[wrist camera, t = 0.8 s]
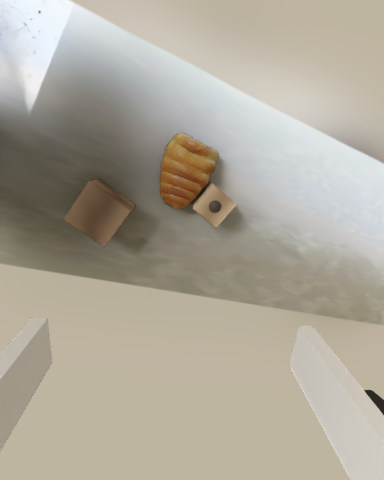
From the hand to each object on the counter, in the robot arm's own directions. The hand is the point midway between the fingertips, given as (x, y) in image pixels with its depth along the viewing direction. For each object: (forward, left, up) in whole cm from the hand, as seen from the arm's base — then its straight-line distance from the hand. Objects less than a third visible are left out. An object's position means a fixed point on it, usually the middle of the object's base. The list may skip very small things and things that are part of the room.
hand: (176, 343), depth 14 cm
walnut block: (-10, -4, -25) cm, 28 cm away
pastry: (-6, +4, -26) cm, 27 cm away
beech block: (+2, +6, -25) cm, 26 cm away
